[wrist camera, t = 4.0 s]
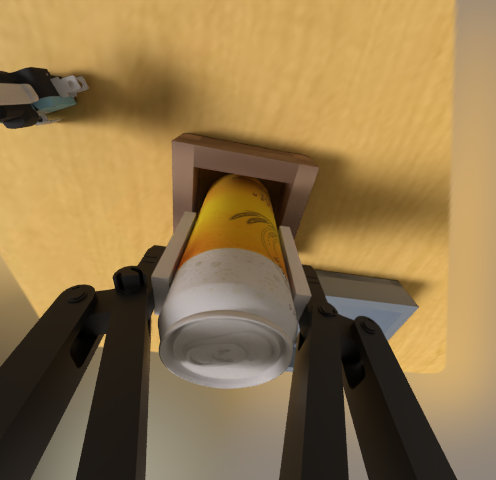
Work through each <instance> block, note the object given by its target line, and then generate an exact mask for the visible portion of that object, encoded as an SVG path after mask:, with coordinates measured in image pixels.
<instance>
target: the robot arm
mask: <svg viewBox="0 0 496 480" xmlns="http://www.w3.org/2000/svg"><path fill="white" fill-rule="evenodd" d="M195 223H196V213H194V212H187V211H185V212H184V214H183V216H182V218H181V220H180V222H179V224H178V226H177V228H176V230H175V232H174V234H173V235H172V237H171V239H170V241H169V243H168V245H167V247H164V246H157V245H154V246H153V247H151V248H150V249H148V250H147V252H146V253H145V255H144V257H143V258H142V260H141V262H140V263H139V264H138V266H127V267H124V268H121V269H119V270H118V271H117V272H115V274H114V275H113V281H114V285H115V289H111V290H104V291H96V292H95V289H94V288H93V287H92V286H90V285H76V286H73V287H70V288H68V289H66V290H65V291H63V292H62V293H61V294H60V295H59V296H58V298H57V299H56V300H55V301H54V302H53V304H52V305H51V306H50V307H49V308H48V310H47V311H46V312H45V313H44V315H43V316H42V317H41V318H40V319H39V321H38V322H37V323H36V324H35V325H34V327H33V328H32V329H31V330H30V332H29V333H28V334H27V335H26V337H25V338H24V339H23V340H22V341H21V343H20V344H19V345H18V346H17V347H16V349H15V350H14V351H13V352H12V353H11V355H10V356H9V357H8V358H7V359H6V361H5V362H4V363H3V365H2V366H1V367H0V480H30V479H31V477H32V475H33V473H34V471H35V469H36V467H37V465H38V463H39V461H40V459H41V457H42V455H43V453H44V451H45V449H46V447H47V445H48V443H49V442H50V440H51V438H52V436H53V434H54V432H55V430H56V428H57V426H58V424H59V422H60V420H61V418H62V416H63V414H64V412H65V410H66V408H67V406H68V404H69V402H70V400H71V398H72V396H73V394H74V392H75V390H76V388H77V387H78V385H79V383H80V381H81V379H82V376H83V375H84V373H85V371H86V369H87V367H88V365H89V363H90V361H91V359H92V357H93V355H94V353H95V351H96V349H97V347H98V345H99V343H100V341H101V340H102V338H103V336H104V334H106V338H105V343H104V348H103V353H102V358H101V362H100V367H99V372H98V377H97V381H96V386H95V391H94V396H93V400H92V405H91V410H90V415H89V419H88V424H87V429H86V434H85V439H84V443H83V448H82V453H81V457H80V462H79V468H78V472H77V477H76V480H145V471H146V448H147V445H146V444H147V420H148V394H149V369H150V368H149V367H150V344H151V315H152V312H153V310H154V312H155V315H159V314H160V312H161V309H162V307H163V304H164V302H165V299H166V297H167V294H168V291H169V289H170V286H171V284H172V281H173V279H174V276H175V274H176V271H177V269H178V266H179V264H180V261H181V259H182V256H183V253H184V251H185V248H186V246H187V243H188V241H189V238H190V236H191V233H192V231H193V228H194V226H195ZM278 236H279V240H280V245H281V249H282V254H283V258H284V263H285V267H286V272H287V276H288V281H289V285H290V290H291V294H292V299H293V303H294V308H295V312H296V317H297V322H298V323H299V328H300V331H299V333H298V335H297V337H296V340H295V343H294V344H296V343H297V344H296V352H295V359H294V367H293V375H292V383H291V391H290V400H289V406H288V414H287V422H286V430H285V438H284V446H283V455H282V461H281V469H280V477H279V480H349V479H348V478H349V477H348V461H347V444H346V428H345V411H344V395H343V387H344V391H345V394H346V398H347V401H348V405H349V409H350V413H351V416H352V420H353V424H354V427H355V431H356V435H357V439H358V442H359V446H360V449H361V453H362V457H363V461H364V464H365V468H366V471H367V475H368V479H369V480H457V478H456V476H455V474H454V472H453V470H452V468H451V467H450V464H449V462H448V460H447V459H446V457H445V454H444V452H443V451H442V449H441V447H440V445H439V443H438V441H437V439H436V437H435V435H434V433H433V431H432V429H431V427H430V425H429V423H428V421H427V419H426V417H425V415H424V413H423V411H422V409H421V407H420V405H419V403H418V401H417V399H416V397H415V395H414V393H413V391H412V389H411V387H410V385H409V383H408V381H407V379H406V377H405V375H404V373H403V371H402V369H401V367H400V365H399V363H398V361H397V359H396V357H395V355H394V353H393V351H392V349H391V347H390V345H389V343H388V341H387V339H386V337H385V335H384V333H383V331H382V329H381V328H380V326H379V325H378V324H377V323H376V322H375V321H374V320H372V319H370V318H369V317H366V316H358V317H356V318H355V320H352V319H350V318H347V317H344V316H342V315H340V314H338V311H337V310H336V308H335V307H334V306H333V305H331V304H330V303H328V302H327V299H326V297H325V294H324V292H323V289H322V286H321V284H320V281H319V279H318V276H317V273H316V271H315V270H314V269H313V268H312V267H311V266H308V265H302V264H301V261H300V258H299V255H298V252H297V248H296V245H295V242H294V239H293V236H292V233H291V230H290V227H285V226H279V230H278Z"/></svg>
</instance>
